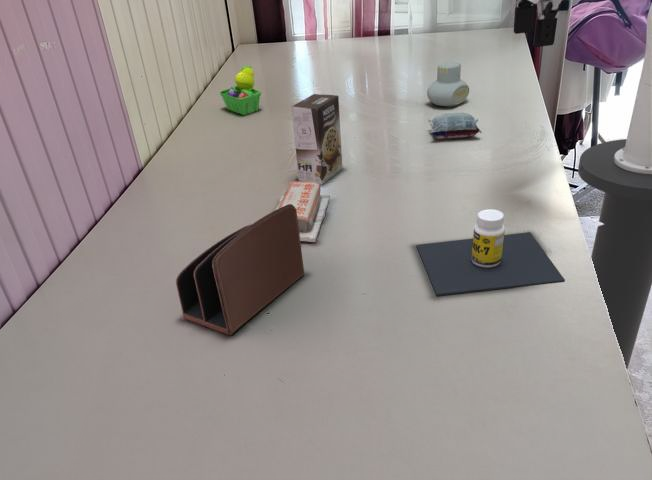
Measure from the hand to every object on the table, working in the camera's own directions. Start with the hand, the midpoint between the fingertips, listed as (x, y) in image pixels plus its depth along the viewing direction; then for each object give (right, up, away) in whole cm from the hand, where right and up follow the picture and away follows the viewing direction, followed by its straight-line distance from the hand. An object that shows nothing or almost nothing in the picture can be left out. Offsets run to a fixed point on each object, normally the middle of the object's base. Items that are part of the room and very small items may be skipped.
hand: (532, 38), depth 106 cm
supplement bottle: (-8, -37, -1) cm, 38 cm away
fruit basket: (-55, +17, +77) cm, 96 cm away
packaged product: (-39, -27, +18) cm, 51 cm away
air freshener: (0, +14, +64) cm, 66 cm away
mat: (-8, -37, -1) cm, 38 cm away
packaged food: (-2, -1, +46) cm, 46 cm away
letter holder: (-48, -43, -1) cm, 64 cm away
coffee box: (-34, -13, +35) cm, 50 cm away
